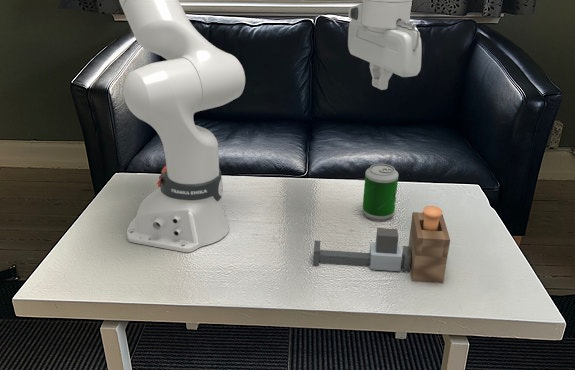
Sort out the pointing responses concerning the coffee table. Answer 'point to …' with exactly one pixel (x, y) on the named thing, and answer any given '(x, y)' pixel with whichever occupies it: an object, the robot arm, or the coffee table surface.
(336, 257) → the rail
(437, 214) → the plunger
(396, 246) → the carriage
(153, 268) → the coffee table surface
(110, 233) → the coffee table surface
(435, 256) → the wooden box with opening
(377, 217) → the soda can
